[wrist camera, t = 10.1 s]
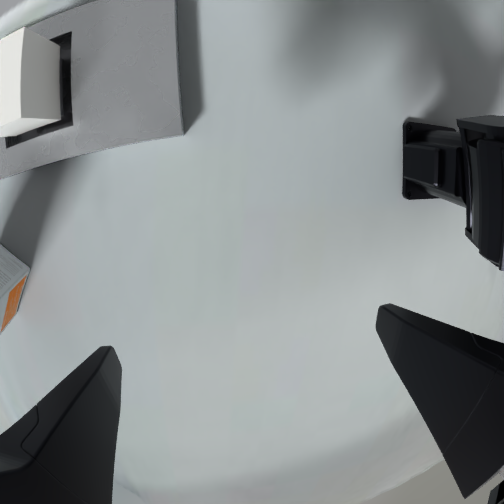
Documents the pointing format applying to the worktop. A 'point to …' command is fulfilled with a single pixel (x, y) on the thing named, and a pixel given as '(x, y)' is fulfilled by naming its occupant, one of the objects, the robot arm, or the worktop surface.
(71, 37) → the socket plate
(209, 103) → the worktop surface
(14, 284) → the skincare box
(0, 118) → the plug
